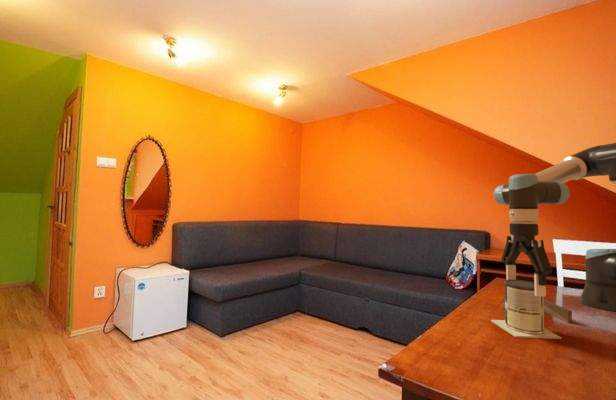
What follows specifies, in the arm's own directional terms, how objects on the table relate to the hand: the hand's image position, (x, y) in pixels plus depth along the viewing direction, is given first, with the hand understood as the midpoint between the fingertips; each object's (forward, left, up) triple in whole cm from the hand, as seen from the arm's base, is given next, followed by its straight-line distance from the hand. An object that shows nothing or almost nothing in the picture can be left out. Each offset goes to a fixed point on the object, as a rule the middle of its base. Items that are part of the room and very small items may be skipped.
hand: (524, 289), depth 96 cm
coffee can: (0, 0, -12) cm, 12 cm away
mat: (0, 0, -12) cm, 12 cm away
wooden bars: (-13, -14, -12) cm, 22 cm away
